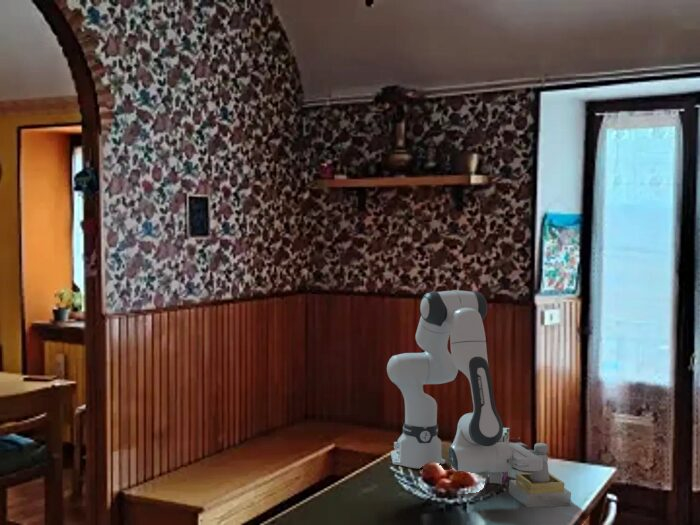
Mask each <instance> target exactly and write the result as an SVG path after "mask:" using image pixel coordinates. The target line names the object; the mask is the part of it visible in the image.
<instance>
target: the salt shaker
mask: <svg viewBox="0 0 700 525" xmlns="http://www.w3.org/2000/svg"><path fill="white" fill-rule="evenodd" d="M533 451H536V454H535V455H537V456H540V455H547V453H548V452H549V445H548V444H546V443H544V442H538V443H537V442H536V443H535V444H534V447H533ZM548 465H549V463H548V461H546V462H543V468H542V470H541V471H531V472H530V473H531V477H530V478H531V482H532V483H547V482H549V480H550V478H549V473H550V472H549V466H548Z"/></svg>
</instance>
